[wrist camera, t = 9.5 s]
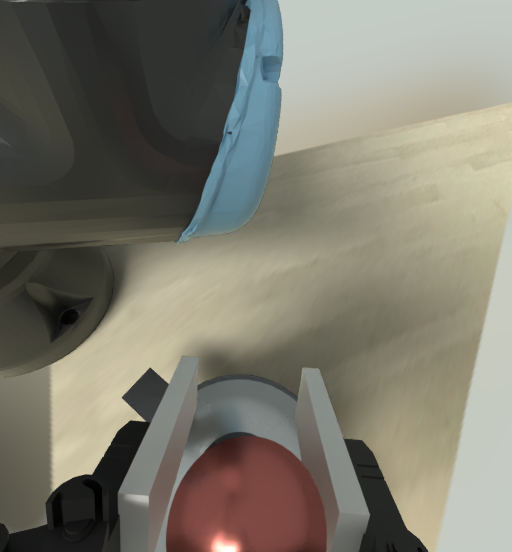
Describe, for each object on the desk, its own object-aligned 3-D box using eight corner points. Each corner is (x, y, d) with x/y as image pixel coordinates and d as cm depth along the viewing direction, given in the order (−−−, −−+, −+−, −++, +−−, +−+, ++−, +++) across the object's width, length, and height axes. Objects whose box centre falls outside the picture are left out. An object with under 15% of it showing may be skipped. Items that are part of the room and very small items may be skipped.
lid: (133, 410, 18) (-7, 352, 7) (292, 364, 20) (360, 267, 9) (156, 649, 13) (-127, 1389, 3) (359, 558, 15) (640, 793, 5)
